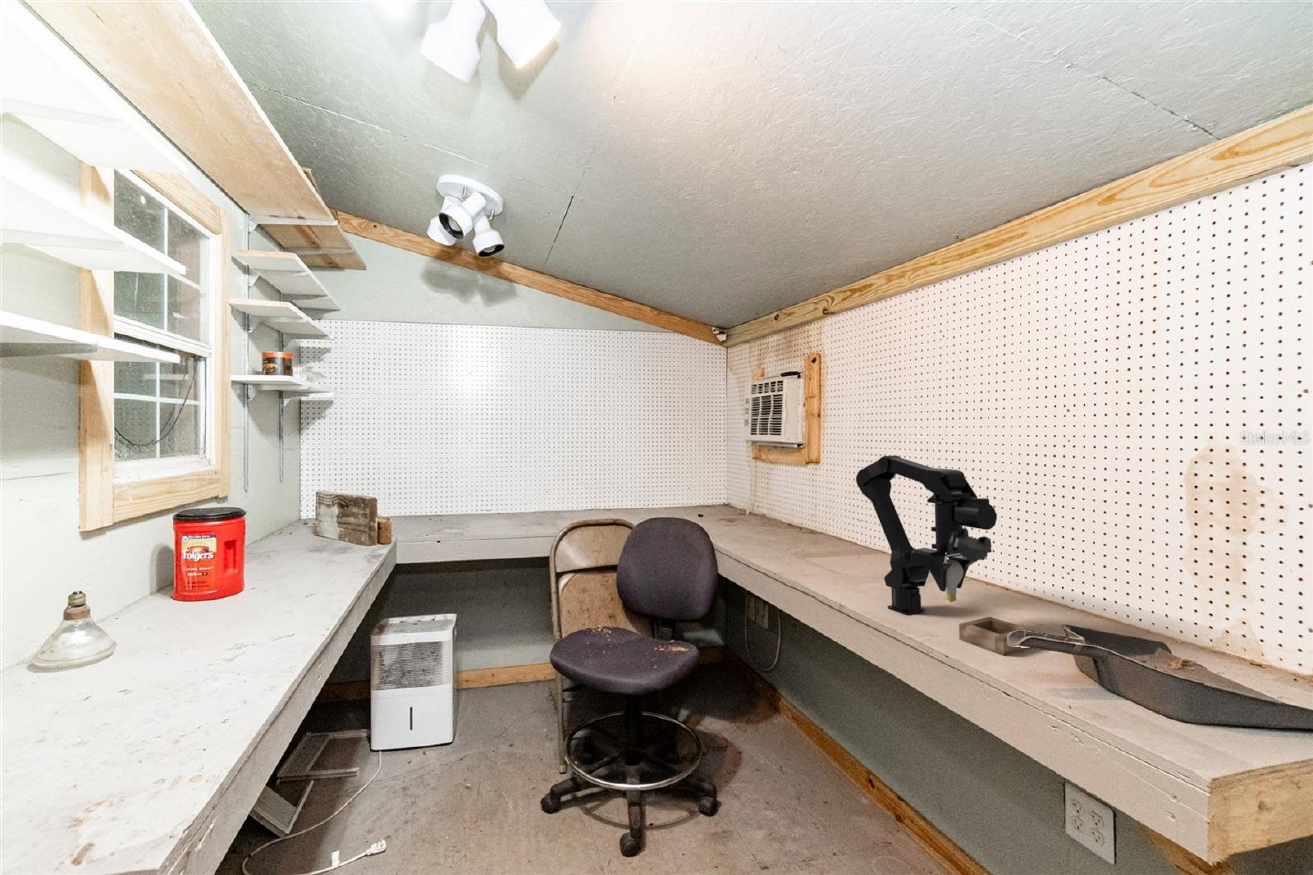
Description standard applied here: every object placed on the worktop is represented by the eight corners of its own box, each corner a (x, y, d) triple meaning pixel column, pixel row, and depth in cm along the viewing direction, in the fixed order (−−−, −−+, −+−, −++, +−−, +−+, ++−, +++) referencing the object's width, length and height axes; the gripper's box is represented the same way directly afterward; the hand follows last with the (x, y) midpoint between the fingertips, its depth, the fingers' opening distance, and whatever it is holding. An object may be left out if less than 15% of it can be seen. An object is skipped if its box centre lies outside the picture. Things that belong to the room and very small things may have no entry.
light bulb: (935, 602, 129) (933, 560, 129) (943, 596, 133) (941, 555, 132) (960, 607, 125) (958, 563, 125) (967, 601, 129) (966, 558, 129)
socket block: (959, 639, 121) (959, 623, 121) (989, 631, 125) (989, 616, 125) (1003, 655, 112) (1003, 638, 112) (1034, 646, 116) (1034, 630, 116)
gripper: (951, 532, 117) (953, 604, 118) (1008, 524, 125) (1010, 592, 125) (908, 525, 128) (910, 591, 128) (964, 518, 135) (966, 581, 135)
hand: (950, 589), depth 129 cm, fingers closed on light bulb, 5 cm apart
